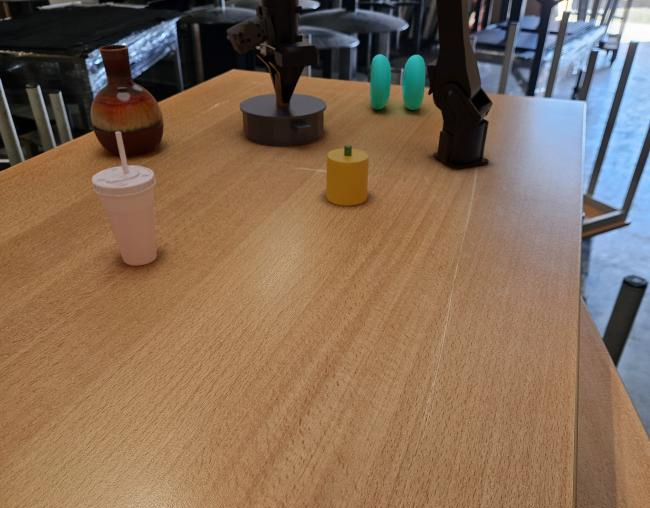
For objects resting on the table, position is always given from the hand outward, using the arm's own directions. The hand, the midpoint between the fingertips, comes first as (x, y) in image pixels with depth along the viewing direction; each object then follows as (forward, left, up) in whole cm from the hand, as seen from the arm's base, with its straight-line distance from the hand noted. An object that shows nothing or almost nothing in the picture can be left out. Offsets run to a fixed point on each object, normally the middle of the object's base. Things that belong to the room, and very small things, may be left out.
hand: (283, 101), depth 99 cm
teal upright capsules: (-26, -6, -6) cm, 27 cm away
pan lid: (0, 0, -1) cm, 1 cm away
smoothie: (+31, +36, -6) cm, 48 cm away
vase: (+26, -2, -6) cm, 27 cm away
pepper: (+2, +30, -6) cm, 31 cm away
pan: (0, 0, -6) cm, 6 cm away
